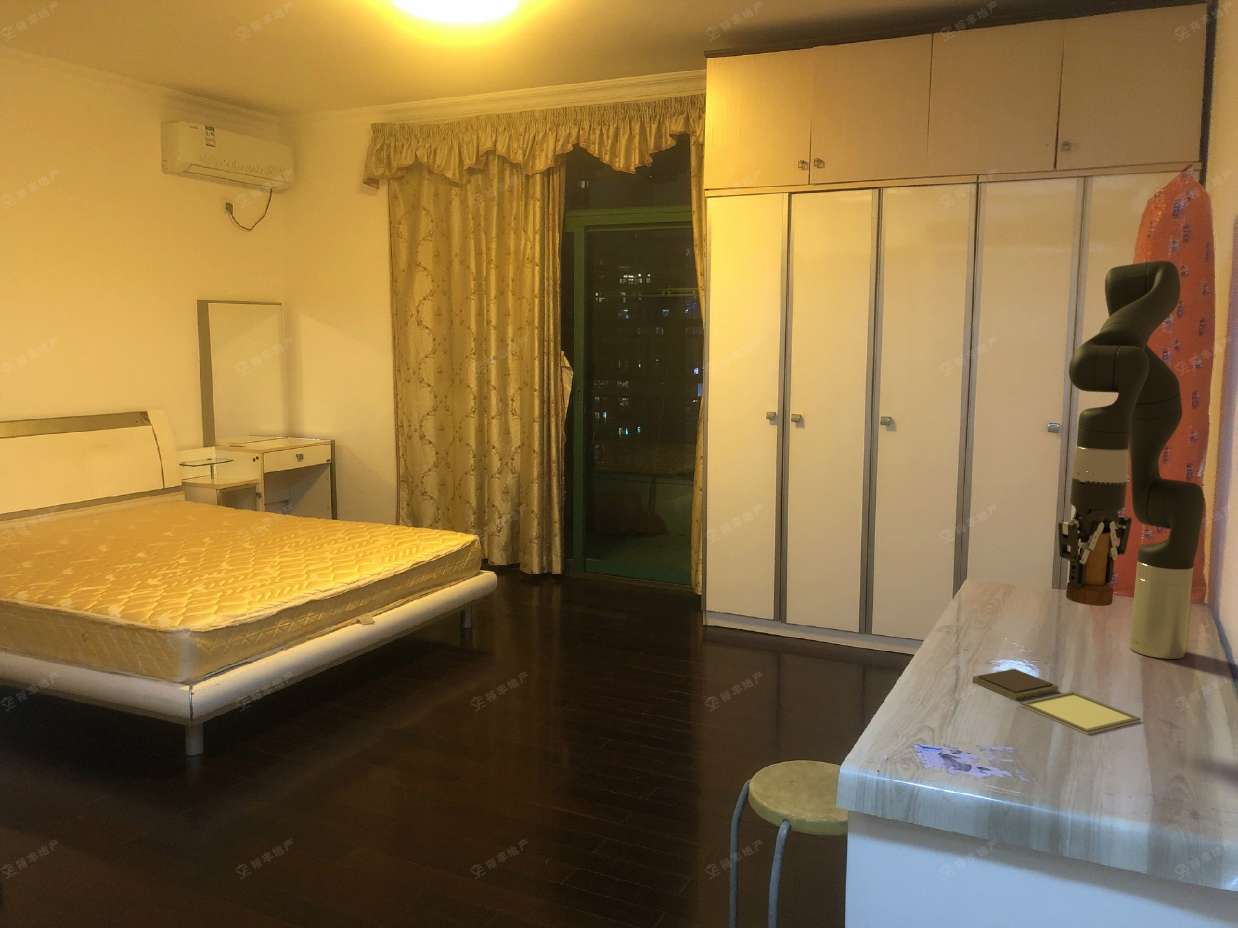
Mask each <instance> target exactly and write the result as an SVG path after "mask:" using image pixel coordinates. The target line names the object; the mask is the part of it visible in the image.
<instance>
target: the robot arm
mask: <svg viewBox="0 0 1238 928" xmlns="http://www.w3.org/2000/svg"><path fill="white" fill-rule="evenodd" d="M1179 273H1180V272H1179V270H1178V268H1177V266H1176V265H1175V263H1173V262H1171V261H1169V260H1154V261H1147V262H1146V261H1145V262H1139V263H1132V264H1126V265H1120V266H1114V267H1112V268H1111V269H1109V270H1108V271H1107V272H1106V275H1105V280H1104V294H1105V302H1106V307H1107V314H1108V318H1106V320H1105V322H1104V323H1103V324H1102V326H1101V328H1100V330H1099V332H1098V333H1097V334H1095V335H1094V336H1093V337H1091V338H1090V339H1087V340H1086V341H1085V342H1083V344H1081V345H1080V346H1079V347H1078V348H1077V350H1075V352H1074V354H1073V355H1072V357H1071V360H1070V362H1069V367H1068V375H1069V378H1070V379H1069V380H1070V381H1071V383H1072V385H1073V386H1075V388H1077V389H1078V390H1081V391H1082V392H1090V393H1091V392H1092V393H1114V394H1116V393H1117V394H1118V395H1117V397H1116V400H1115V401H1114V402H1113V403H1111V404H1108V405H1104V406H1099V407H1098V406H1097V407H1091V408H1086V409H1083V410H1082V411H1081V412H1080V414H1079V417H1078V425H1077V434H1076V436H1077V438H1076V446H1075V448H1076V449H1075V453H1074V456H1073V462H1072V463H1073V464H1072V476H1071V487H1070V488H1071V489H1070V500H1069V503H1070V505H1072V506H1073V507H1074V508H1075V512H1074V514H1073V517H1072V519H1071V520H1068V521H1067V520H1060V521H1058V525H1057V526H1058V545H1059V546H1058V547H1059V557H1060V558H1061V559H1066V560H1068V562H1069V569H1068V570H1069V571H1068V582H1069V583H1070V585H1072V586H1075V587H1079V588H1080V587H1084V586H1085V576H1086V564H1085V563H1086V560H1087V558H1088V555H1089V552H1090V551H1092V550H1094V547H1095V545H1096V542H1097V539H1098V537H1099V535H1100V534H1101V533H1108V532H1110V536H1109V545H1108V554H1107V564H1106V574H1105V582H1107V583H1108V584H1111V583H1112V582H1113V576H1114V569H1115V561H1116V560H1117V559H1118V556H1120V555H1121V556H1124V555H1125V553H1126V551H1127V546H1128V542H1129V537H1130V531H1131V526H1132V521H1133V519H1132V517H1129V516H1125V515H1124V516H1123V515H1119V513H1118V512H1119V511H1122V510H1124V508H1125V506H1126V497H1127V488H1128V487H1127V485H1128V474H1129V458H1130V483H1131V484H1130V485H1131V486H1130V487H1131V489H1130V490H1131V503H1132V505H1131V506H1132V509H1133V515H1134V516H1135V518H1136V520H1137V522H1139V523H1140V524H1144V525H1147V526H1151V527H1156V528H1162V529H1167V530H1168V529H1169V534H1168V538H1166V539H1165V540H1164V541H1161V542H1155V543H1154V542H1153V543H1147V544H1144V545H1141V546H1139V549H1138V552H1137V561H1136V562H1137V563H1136V569H1135V570H1136V573H1135V584H1134V592H1133V593H1134V595H1133V604H1132V614H1131V615H1132V616H1131V617H1132V618H1131V625H1130V638H1129V648H1130V650H1131V651H1132V652H1135V653H1137V654H1140V655H1144V656H1148V657H1151V658H1157V659H1165V660H1166V659H1167V660H1169V659H1171V660H1175V659H1182V658H1184V657H1185V655H1186V654H1187V653H1188V645H1189V636H1190V627H1191V626H1190V625H1191V617H1192V616H1191V615H1192V605H1191V594H1192V585H1193V573H1194V566H1195V565H1194V564H1195V558H1196V555H1197V553H1198V547H1199V542H1200V535H1201V534H1200V533H1201V527H1202V522H1203V521H1202V520H1203V517H1204V509H1205V494H1204V490H1203V489H1202V487H1201V486H1200V484H1198V483H1195V482H1192V481H1185V480H1177V479H1171V478H1170V479H1169V478H1162V476H1161V475H1160V467H1159V464H1160V456H1161V454H1162V452H1163V451H1164V450H1163V449H1164V448H1165V446H1166V445H1167V444H1168V442H1169V441H1170V439H1171V438H1172V437H1173V435H1174V434H1175V432H1176V430H1177V429H1178V427H1179V425H1180V423H1181V420H1182V418H1183V404H1182V396H1181V387H1180V386H1181V385H1180V382H1179V379H1178V377H1177V376H1176V374H1175V373H1174V372H1173V370H1172V369H1171V368H1170V367H1169V365H1167V364H1166V362H1164V361H1163V359H1161V358H1160V356H1158V355H1157V354H1156V353H1155V351H1153V349H1152V348H1150V347H1149V345H1148V344H1149V343H1148V342H1149V340H1150V338H1151V336H1152V335H1153V333H1154V332H1155V331H1156V330H1157V329H1158V328H1159V327H1160V326H1161V325H1162V324H1163V322H1165V320H1167V319H1168V317H1169V316H1170V315H1171V314H1173V312H1174V310H1175V309H1176V308H1177V306H1178V303H1179V301H1180V297H1181V296H1180V295H1181V279H1180V274H1179ZM1129 455H1130V457H1129ZM1101 516H1105V517H1104V520H1103V521H1101ZM1080 539H1081V540H1082V541H1086V542H1087V543H1082V542H1080ZM1118 539H1119V542H1118ZM1068 546H1069V550H1068ZM1080 548H1082V551H1081V554H1080V555H1079V550H1080Z"/></svg>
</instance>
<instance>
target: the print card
mask: <svg viewBox="0 0 1238 928" xmlns="http://www.w3.org/2000/svg"><path fill="white" fill-rule="evenodd" d="M1019 705H1020V706H1021V707H1023V708H1025V709H1027V710H1030V711H1031V712H1034V713H1036V714H1038V715H1041V716H1043V717H1046V718H1048V719H1051V720H1053V721H1055V722H1058V723H1059V724H1061V725H1064V726H1067V727H1068V728H1071V729H1073V730H1076V731H1079V732H1081V733H1083V734H1085V735H1092V734H1094V733H1099V732H1102V731H1108V730H1110V729H1111V730H1112V729H1115V728H1119V727H1123V726H1127V725H1131V724H1135V723H1141V719H1142V718H1141V717H1140V716H1136V715H1133V714H1131V713H1128V712H1127V711H1123V710H1121V709H1119V708H1116V707H1113V706H1110V704H1109V705H1108V704H1106V703H1103V702H1100V701H1098V700H1095V699H1093V698H1091V697H1088V696H1085V695H1082V694H1080V693H1077V692H1075V691H1072V690H1071V691H1066V692H1062V693H1057V694H1053V695H1048V696H1044V697H1040V698H1034V699H1031V700H1030V699H1029V700H1026V701H1021V702H1020V703H1019Z"/></svg>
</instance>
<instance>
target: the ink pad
mask: <svg viewBox="0 0 1238 928" xmlns="http://www.w3.org/2000/svg"><path fill="white" fill-rule="evenodd" d="M972 683H974V684H977V685H979V686H981V687H984V688H985V689H988V690H990V691H992V692H994V693H997V694H1000V695H1002V696H1005V697H1006V698H1008V699H1011V700H1014V701H1020V700H1025V699H1030V698H1033V697H1038V696H1043V695H1047V694H1048V695H1049V694H1052V693H1058V691H1059V685H1057V684H1055V683H1052V682H1049V681H1047V680H1044V679H1042V678H1039V677H1038V676H1037V677H1036V676H1034V675H1032V674H1029V673H1027V672H1024V671H1021V670H1019V669H1016V668H1010V669H1005V670H999V671H995V672H990V673H984V674H980V675H973V676H972Z"/></svg>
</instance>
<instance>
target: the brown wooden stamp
mask: <svg viewBox="0 0 1238 928" xmlns="http://www.w3.org/2000/svg"><path fill="white" fill-rule="evenodd" d="M1104 517H1105V516H1101V521H1103V520H1104ZM1109 536H1110V532H1108V533H1101V534H1100V535H1099V537H1098V539H1097V542H1096V545H1095V547H1094V550H1092V551H1090V552H1089V555H1088V558H1087V560H1086V563H1085V564H1086V576H1085V586H1084V587H1080V588H1079V587H1075V586H1072V585H1070V583H1069V581H1068V582H1067V583H1066V591H1065V596H1066V599H1067V600H1069V601H1070V602H1071V601H1072V602H1073V603H1077V604H1081V605H1086V606H1087V605H1088V606H1096V607H1106V606H1110V605H1112V603H1113V596H1114V588H1113V587H1111V585H1110V583H1107V582H1105V574H1106V564H1107V554H1108V545H1109ZM1079 542H1082V543H1087V542H1086V541H1082V540H1081V539H1079ZM1078 550H1079V555H1080V554H1081V551H1082V548H1079V549H1078Z"/></svg>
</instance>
